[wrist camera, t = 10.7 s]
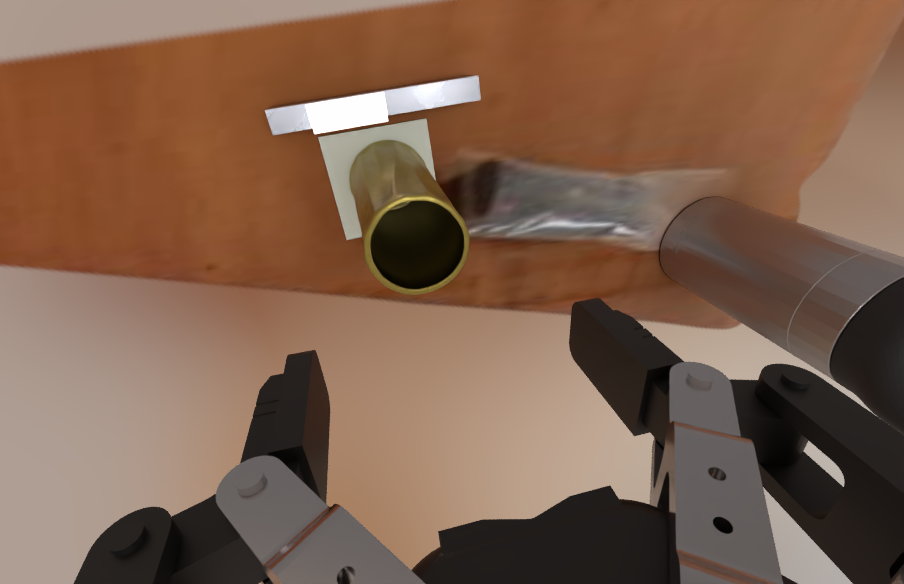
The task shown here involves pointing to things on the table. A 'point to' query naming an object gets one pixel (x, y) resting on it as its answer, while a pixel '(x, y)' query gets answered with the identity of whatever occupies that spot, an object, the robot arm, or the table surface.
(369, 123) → the price rail
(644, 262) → the table surface
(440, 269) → the vase
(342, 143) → the pad
